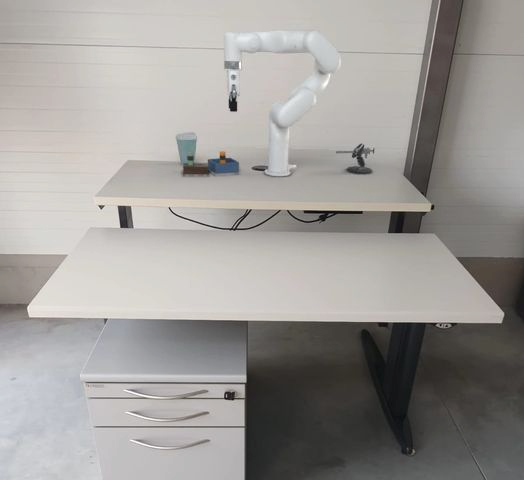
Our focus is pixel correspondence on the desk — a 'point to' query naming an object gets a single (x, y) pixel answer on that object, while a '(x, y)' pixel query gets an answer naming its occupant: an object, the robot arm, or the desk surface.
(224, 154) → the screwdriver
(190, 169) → the rack
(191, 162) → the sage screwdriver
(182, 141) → the cup of blue liquid
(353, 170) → the gun turret
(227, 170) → the tote
